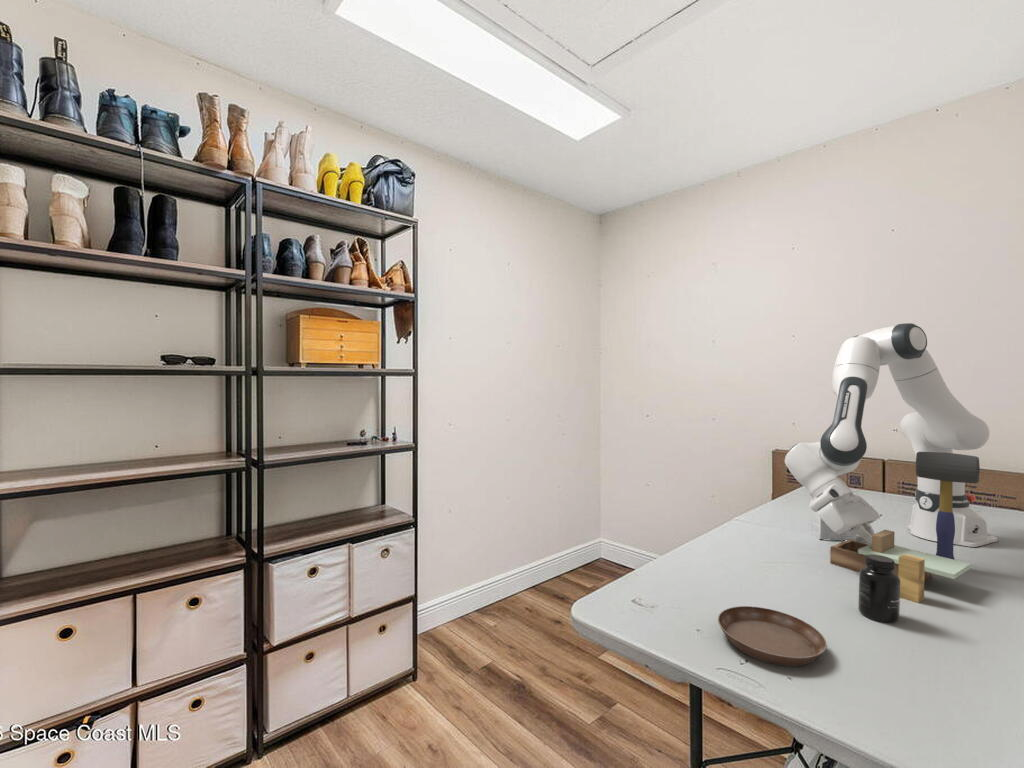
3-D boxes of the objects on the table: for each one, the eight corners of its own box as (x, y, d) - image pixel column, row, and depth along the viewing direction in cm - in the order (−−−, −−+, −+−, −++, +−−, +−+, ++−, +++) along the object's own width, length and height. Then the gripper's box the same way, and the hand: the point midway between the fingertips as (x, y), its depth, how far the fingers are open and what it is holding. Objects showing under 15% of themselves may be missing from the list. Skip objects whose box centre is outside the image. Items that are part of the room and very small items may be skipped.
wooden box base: (849, 555, 135) (849, 539, 135) (931, 578, 120) (931, 559, 120) (830, 563, 129) (830, 546, 129) (914, 588, 114) (914, 569, 114)
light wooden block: (904, 593, 112) (904, 553, 111) (924, 599, 109) (924, 558, 108) (898, 596, 110) (898, 557, 109) (917, 603, 107) (918, 562, 106)
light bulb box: (844, 534, 153) (845, 500, 153) (857, 542, 147) (858, 506, 146) (808, 533, 154) (809, 499, 154) (820, 540, 148) (820, 505, 147)
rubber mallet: (977, 569, 125) (979, 453, 125) (978, 578, 120) (980, 457, 120) (914, 557, 134) (916, 448, 133) (912, 565, 128) (914, 451, 128)
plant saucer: (835, 643, 90) (835, 627, 90) (814, 688, 77) (814, 669, 77) (735, 611, 102) (736, 597, 102) (703, 645, 89) (703, 629, 89)
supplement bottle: (902, 627, 96) (903, 567, 96) (859, 618, 100) (860, 559, 99) (897, 613, 102) (898, 556, 102) (857, 604, 105) (858, 549, 105)
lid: (877, 544, 130) (877, 526, 130) (970, 568, 114) (971, 546, 114) (858, 553, 123) (858, 533, 123) (954, 578, 108) (954, 556, 108)
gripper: (842, 497, 141) (881, 541, 132) (805, 507, 129) (846, 555, 121) (859, 485, 137) (901, 529, 129) (824, 494, 126) (867, 542, 117)
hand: (874, 542), depth 125 cm, fingers closed
